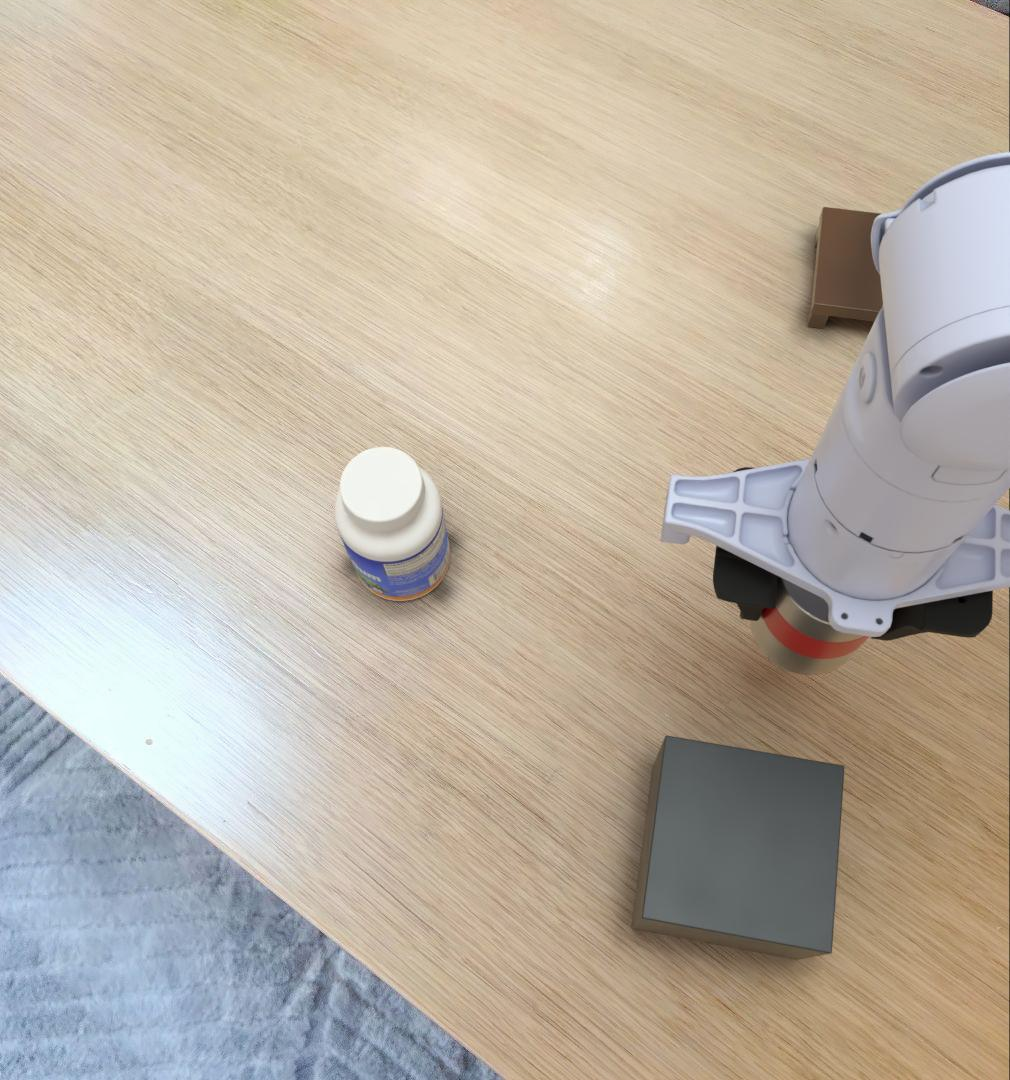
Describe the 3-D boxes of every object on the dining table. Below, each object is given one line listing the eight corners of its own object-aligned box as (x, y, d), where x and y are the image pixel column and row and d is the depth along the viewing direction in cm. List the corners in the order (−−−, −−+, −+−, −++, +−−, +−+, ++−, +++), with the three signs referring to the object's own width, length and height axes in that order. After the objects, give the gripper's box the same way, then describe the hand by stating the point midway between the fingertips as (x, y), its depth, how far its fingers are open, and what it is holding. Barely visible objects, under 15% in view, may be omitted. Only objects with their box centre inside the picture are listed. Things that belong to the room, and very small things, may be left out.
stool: (930, 246, 68) (943, 220, 66) (925, 343, 66) (938, 319, 64) (814, 232, 69) (823, 206, 67) (805, 328, 67) (814, 303, 64)
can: (865, 579, 52) (909, 518, 45) (858, 684, 50) (904, 636, 43) (754, 563, 52) (782, 500, 46) (744, 666, 50) (772, 616, 44)
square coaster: (811, 792, 56) (845, 765, 50) (798, 960, 53) (832, 954, 47) (652, 765, 57) (665, 734, 51) (631, 928, 54) (641, 918, 48)
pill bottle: (339, 539, 63) (303, 461, 54) (426, 497, 63) (405, 414, 54) (380, 621, 61) (350, 554, 52) (469, 577, 61) (455, 504, 52)
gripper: (665, 552, 36) (637, 669, 48) (1138, 621, 34) (982, 723, 47) (690, 364, 38) (657, 521, 51) (1130, 420, 37) (984, 568, 50)
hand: (813, 608), depth 49 cm, fingers closed on can, 5 cm apart
